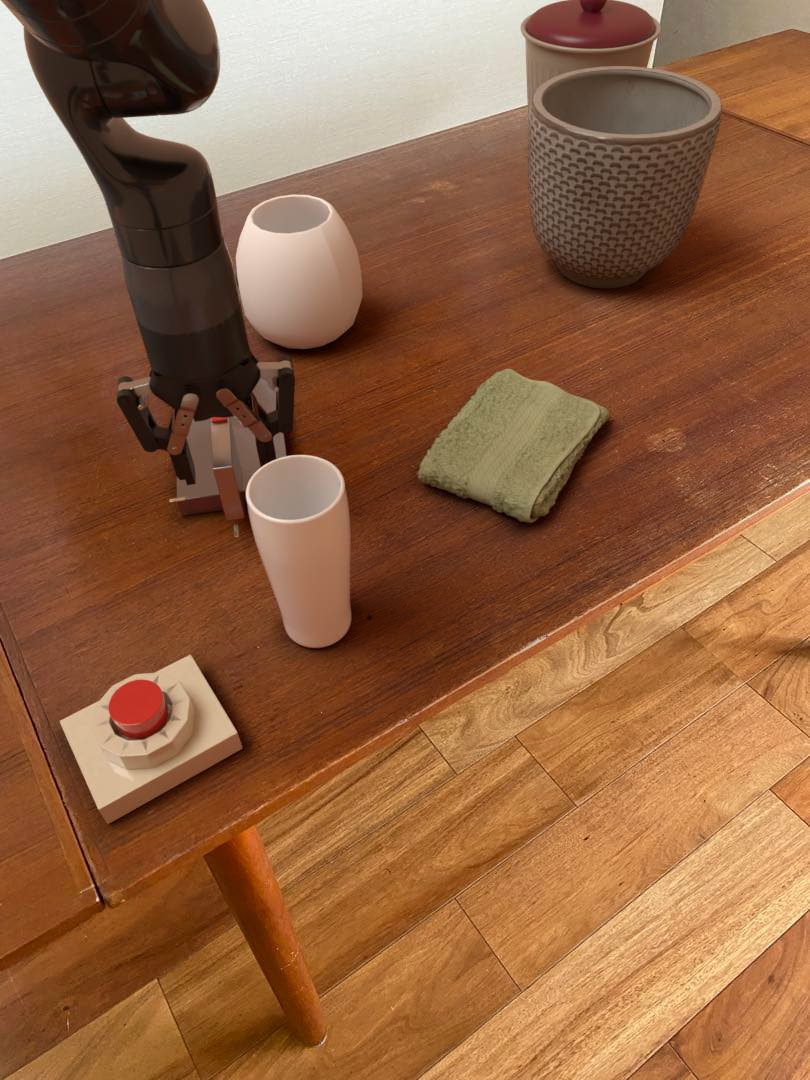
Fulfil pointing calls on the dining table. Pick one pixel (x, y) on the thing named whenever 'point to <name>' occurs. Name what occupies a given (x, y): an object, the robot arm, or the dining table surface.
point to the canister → (585, 38)
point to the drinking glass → (304, 544)
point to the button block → (151, 742)
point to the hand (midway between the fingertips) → (229, 472)
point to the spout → (227, 468)
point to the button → (138, 709)
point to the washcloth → (513, 445)
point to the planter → (617, 168)
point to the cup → (298, 272)
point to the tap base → (199, 440)
